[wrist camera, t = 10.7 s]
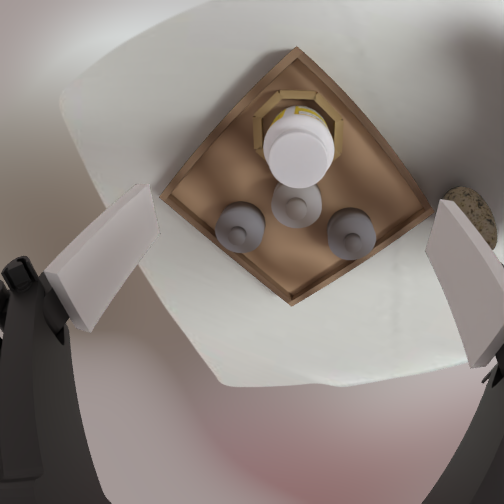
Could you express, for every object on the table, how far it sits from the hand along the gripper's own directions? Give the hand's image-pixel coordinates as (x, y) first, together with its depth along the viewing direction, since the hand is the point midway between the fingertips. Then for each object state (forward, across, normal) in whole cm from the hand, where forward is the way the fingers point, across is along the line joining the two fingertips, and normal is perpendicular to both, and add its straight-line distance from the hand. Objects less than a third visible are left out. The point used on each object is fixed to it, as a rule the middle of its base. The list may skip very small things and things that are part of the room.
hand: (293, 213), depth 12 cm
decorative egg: (+19, +19, -6) cm, 27 cm away
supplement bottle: (+17, 0, 0) cm, 17 cm away
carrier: (+19, 0, -7) cm, 20 cm away
